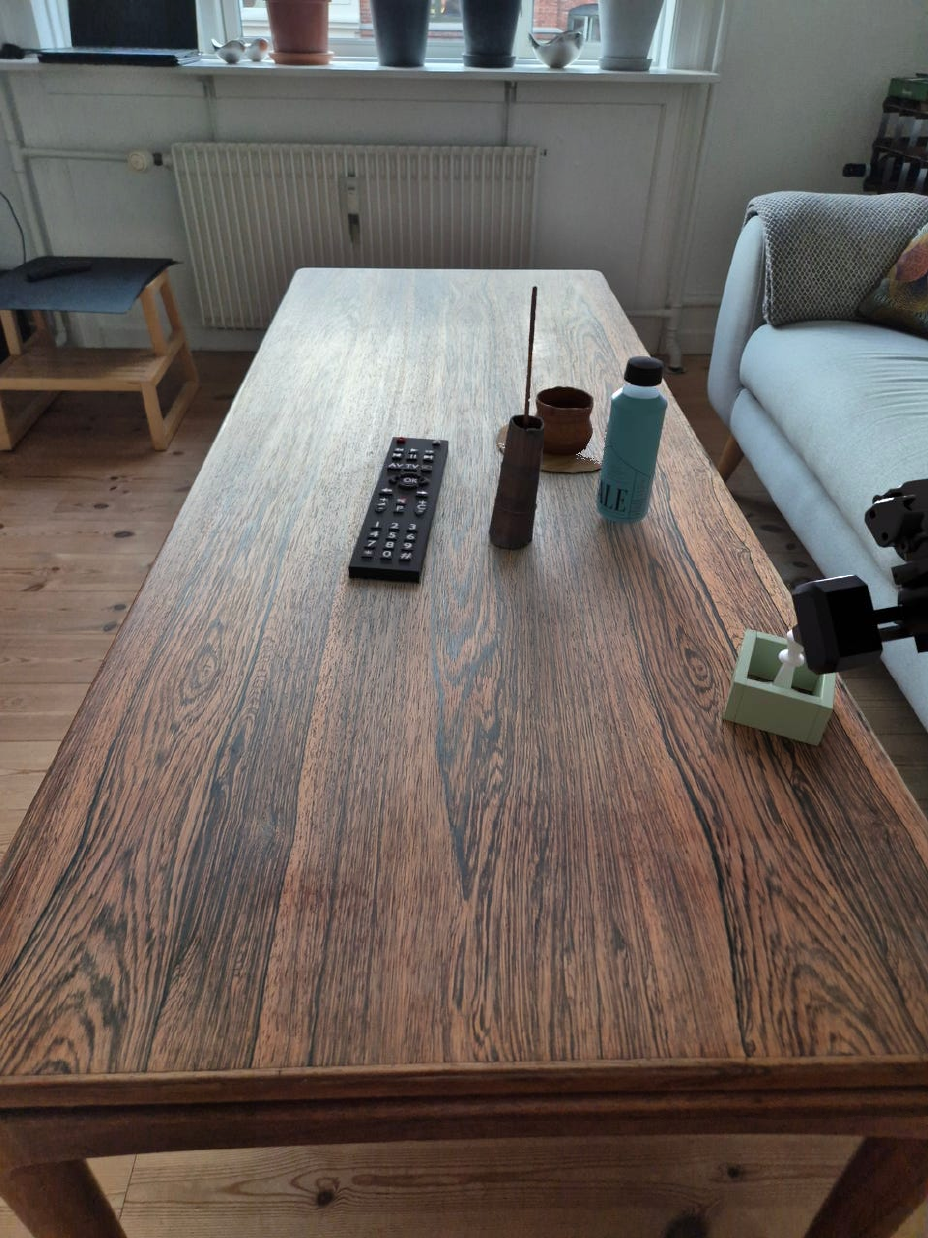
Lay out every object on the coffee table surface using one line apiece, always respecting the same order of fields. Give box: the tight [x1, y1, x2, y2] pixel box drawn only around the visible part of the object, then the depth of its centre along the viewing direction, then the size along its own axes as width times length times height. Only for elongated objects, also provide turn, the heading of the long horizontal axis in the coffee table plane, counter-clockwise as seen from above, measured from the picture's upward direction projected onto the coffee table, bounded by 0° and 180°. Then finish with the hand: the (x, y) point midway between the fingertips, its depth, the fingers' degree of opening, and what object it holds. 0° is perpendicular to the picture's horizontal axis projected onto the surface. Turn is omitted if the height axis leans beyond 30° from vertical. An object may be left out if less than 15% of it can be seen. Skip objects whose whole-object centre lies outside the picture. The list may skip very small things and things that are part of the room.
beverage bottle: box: [595, 355, 669, 524], centre depth 96 cm, size 6×7×20 cm
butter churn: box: [488, 285, 545, 550], centre depth 89 cm, size 9×10×28 cm
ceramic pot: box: [495, 385, 603, 474], centre depth 116 cm, size 18×18×7 cm
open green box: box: [722, 628, 837, 747], centre depth 76 cm, size 8×8×4 cm
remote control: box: [347, 436, 449, 584], centre depth 102 cm, size 8×32×2 cm, turn 175°
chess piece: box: [762, 623, 804, 691], centre depth 74 cm, size 5×5×10 cm
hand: (844, 625), depth 66 cm, fingers open, 9 cm apart
